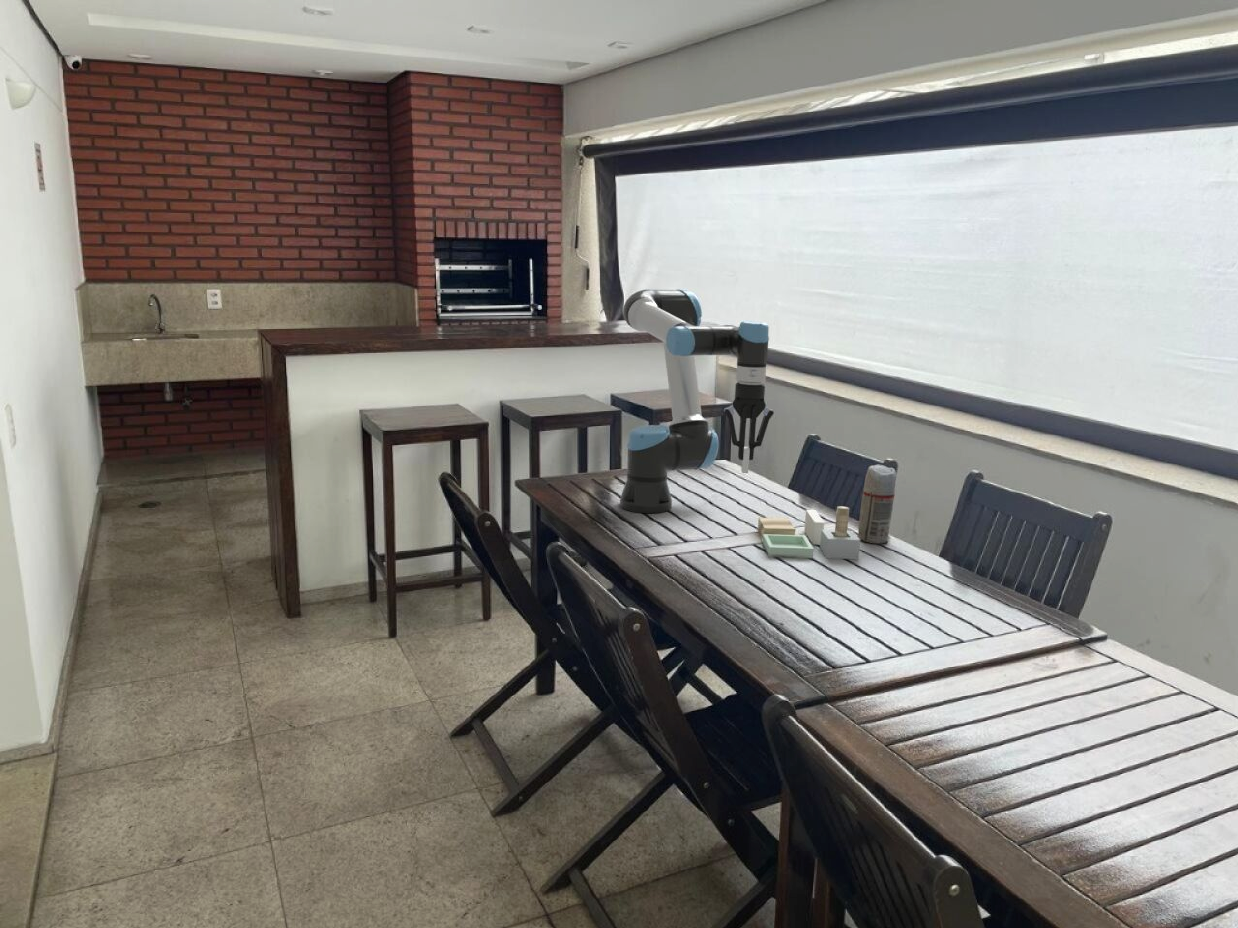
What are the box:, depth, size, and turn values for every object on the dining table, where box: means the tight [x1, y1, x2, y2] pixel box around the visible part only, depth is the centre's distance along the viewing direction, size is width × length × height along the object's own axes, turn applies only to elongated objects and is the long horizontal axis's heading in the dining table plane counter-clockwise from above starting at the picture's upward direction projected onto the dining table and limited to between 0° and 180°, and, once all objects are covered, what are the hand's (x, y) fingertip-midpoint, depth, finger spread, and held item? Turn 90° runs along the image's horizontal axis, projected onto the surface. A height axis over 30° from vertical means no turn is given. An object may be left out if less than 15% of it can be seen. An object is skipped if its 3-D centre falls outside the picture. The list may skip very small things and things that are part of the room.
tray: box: [762, 534, 815, 559], centre depth 246 cm, size 11×11×2 cm
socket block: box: [819, 529, 861, 560], centre depth 245 cm, size 8×8×5 cm
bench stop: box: [804, 509, 825, 546], centre depth 257 cm, size 12×2×6 cm, turn 0°
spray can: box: [857, 463, 897, 544], centre depth 256 cm, size 8×8×20 cm
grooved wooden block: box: [757, 517, 796, 540], centre depth 257 cm, size 10×8×4 cm
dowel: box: [834, 506, 850, 537], centre depth 244 cm, size 3×3×12 cm
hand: (744, 471), depth 254 cm, fingers closed
